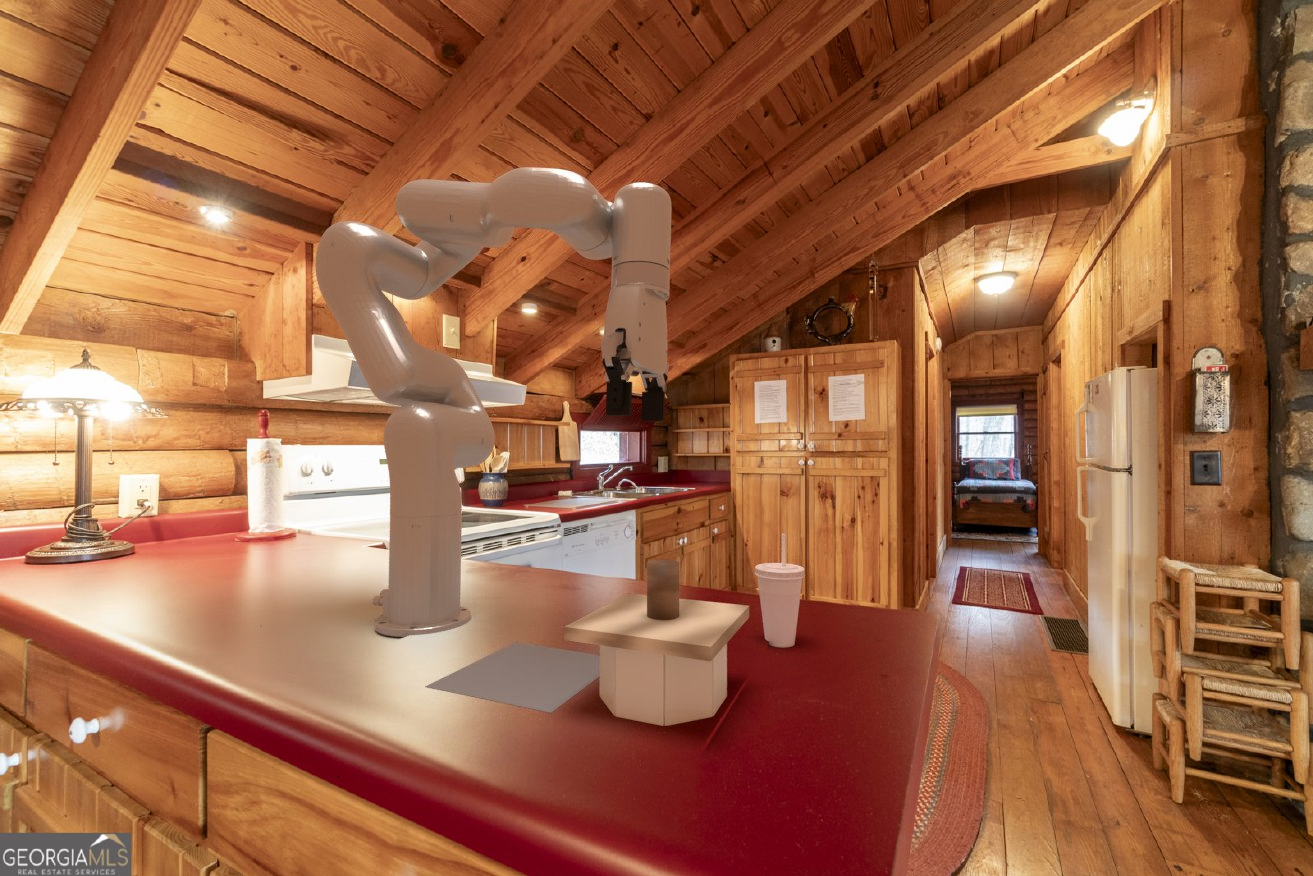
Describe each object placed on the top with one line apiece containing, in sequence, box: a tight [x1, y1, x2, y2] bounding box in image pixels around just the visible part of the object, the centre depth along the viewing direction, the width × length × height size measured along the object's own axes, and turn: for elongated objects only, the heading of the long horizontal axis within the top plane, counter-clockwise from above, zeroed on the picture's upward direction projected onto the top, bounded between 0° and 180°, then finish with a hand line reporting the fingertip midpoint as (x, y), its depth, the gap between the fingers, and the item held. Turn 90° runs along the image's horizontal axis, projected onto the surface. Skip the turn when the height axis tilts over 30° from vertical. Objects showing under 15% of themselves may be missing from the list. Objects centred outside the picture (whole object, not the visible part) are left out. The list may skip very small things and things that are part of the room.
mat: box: [424, 641, 600, 714], centre depth 61 cm, size 15×15×1 cm
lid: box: [563, 559, 750, 661], centre depth 55 cm, size 14×14×6 cm
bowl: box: [598, 642, 728, 727], centre depth 55 cm, size 12×12×7 cm
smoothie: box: [754, 533, 806, 648], centre depth 72 cm, size 6×6×14 cm
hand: (636, 418), depth 71 cm, fingers open, 9 cm apart
